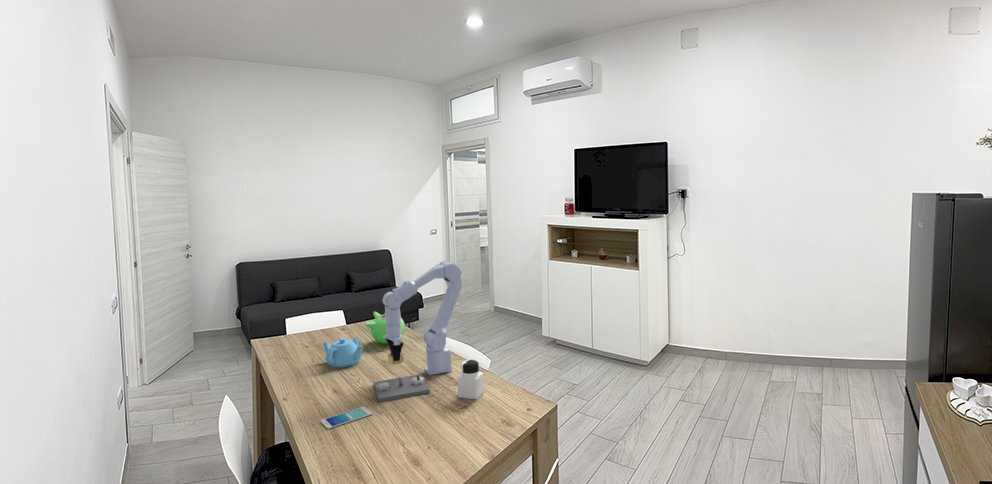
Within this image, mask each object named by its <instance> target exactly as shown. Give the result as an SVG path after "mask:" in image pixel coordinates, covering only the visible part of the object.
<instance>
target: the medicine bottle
mask: <svg viewBox="0 0 992 484" xmlns="http://www.w3.org/2000/svg"><path fill="white" fill-rule="evenodd" d="M479 366H480V364H479V361H477V360H475V359H467V360H463V361H462V362H461V364H460V367H461V374H460V375H459V376H457V378H456V379H457V380H456V381H457V395H458V399H459V398H460V399H469V400H478V399H479V398H480V397H481V395H482V394H483V393H484V392H485V385H484V384H485V382H484V372H482V371H480V368H479Z"/></svg>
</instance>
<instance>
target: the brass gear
mask: <svg viewBox="0 0 992 484" xmlns="http://www.w3.org/2000/svg"><path fill="white" fill-rule="evenodd" d="M403 362H404V354H403V352H402V351H401V355H400V360H399V361H394V360H393V356H392V353H391V352H390V353H387V363H388V365H392V366H393V365H394V366H395V365H400V364H402V363H403Z"/></svg>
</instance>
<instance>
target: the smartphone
mask: <svg viewBox="0 0 992 484" xmlns="http://www.w3.org/2000/svg"><path fill="white" fill-rule="evenodd" d="M370 416H373V411H370V410H369V409H368V408H367V407H366V406H361V407H357V408H355V409H351V410H348V411H346V412H345V411H344V412H341V413H339V414H336V415H332V416H329V417H325V418H323V419H321V420H320V422H321V423H322V424H323V425H324V426H325V427H326V428H325V427H324V426H323V425H322V424H321V423H320V424H321V425H322V426H323V427H324V428H325V429H326V430H327V429H329V430H331V428H332V429H334V427H335V428H338V426H339V427H341V426H340V425H342V426H344V425H347V424H349V423H353V422H356V421H359V420H362V419H364V417H365V418H367V417H370ZM361 418H362V419H361ZM346 423H347V424H346Z"/></svg>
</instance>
